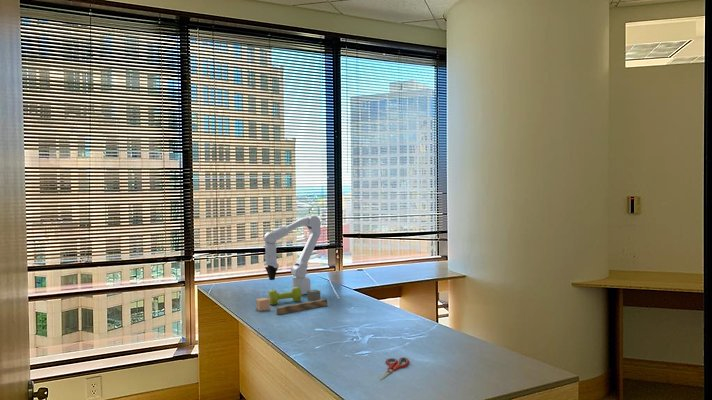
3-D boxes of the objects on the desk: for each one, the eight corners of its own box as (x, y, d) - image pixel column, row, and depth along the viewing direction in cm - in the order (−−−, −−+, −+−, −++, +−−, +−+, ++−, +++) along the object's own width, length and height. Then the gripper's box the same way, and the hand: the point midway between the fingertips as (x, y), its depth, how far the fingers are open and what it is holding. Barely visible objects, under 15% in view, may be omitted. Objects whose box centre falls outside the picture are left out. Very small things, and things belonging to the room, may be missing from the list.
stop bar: (325, 304, 244) (325, 298, 244) (327, 305, 242) (327, 299, 242) (276, 313, 230) (276, 307, 230) (278, 314, 228) (278, 308, 228)
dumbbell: (298, 299, 260) (297, 285, 260) (302, 302, 253) (302, 288, 252) (267, 303, 253) (266, 289, 253) (271, 306, 246) (270, 291, 246)
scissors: (372, 385, 144) (372, 380, 144) (387, 360, 164) (387, 356, 164) (398, 387, 142) (398, 382, 142) (410, 361, 162) (410, 357, 162)
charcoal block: (316, 298, 259) (315, 289, 258) (320, 300, 254) (320, 290, 254) (307, 300, 256) (307, 290, 256) (312, 302, 252) (311, 292, 251)
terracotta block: (265, 307, 243) (265, 297, 243) (269, 309, 239) (269, 299, 239) (256, 309, 241) (255, 299, 241) (260, 311, 236) (259, 300, 236)
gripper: (258, 254, 270) (259, 278, 270) (269, 256, 257) (270, 282, 258) (270, 252, 273) (271, 277, 274) (281, 255, 261) (282, 280, 262)
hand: (272, 279), depth 266 cm, fingers closed
